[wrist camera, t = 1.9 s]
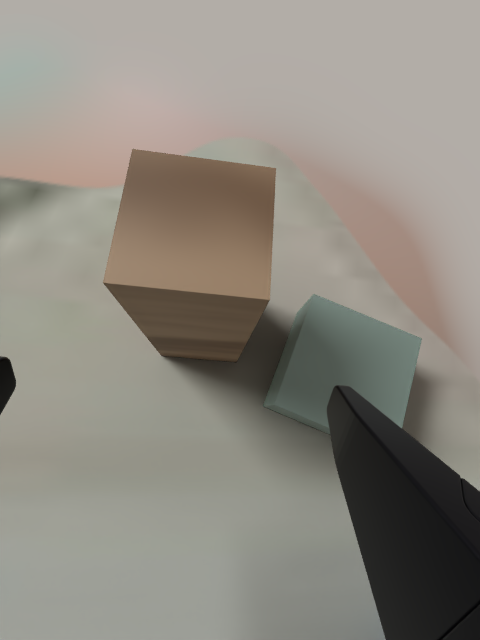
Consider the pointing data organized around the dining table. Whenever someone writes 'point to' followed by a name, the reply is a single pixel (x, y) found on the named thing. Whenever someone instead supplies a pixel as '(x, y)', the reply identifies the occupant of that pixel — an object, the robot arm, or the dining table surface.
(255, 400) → the dining table surface
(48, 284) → the dining table surface
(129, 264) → the walnut column
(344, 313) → the base block
